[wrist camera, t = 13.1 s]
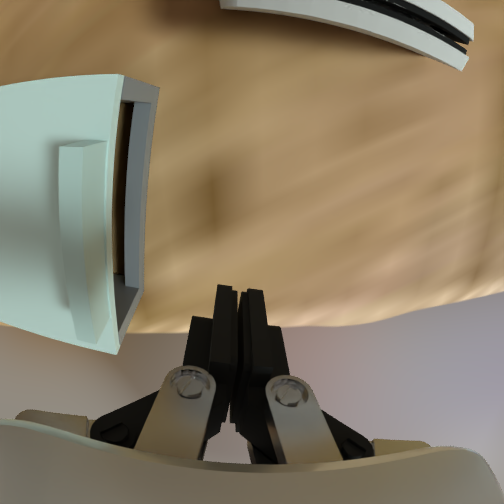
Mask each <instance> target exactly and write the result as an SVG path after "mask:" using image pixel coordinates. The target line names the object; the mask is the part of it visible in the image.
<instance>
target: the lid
mask: <svg viewBox="0 0 504 504" xmlns="http://www.w3.org/2000/svg"><path fill="white" fill-rule="evenodd" d="M123 81H124V76H123V75H120V74H101V75H82V76H69V77H58V78H49V79H41V80H34V81H27V82H21V83H16V84H10V85H5V86H0V321H1V322H3V323H6V324H9V325H12V326H15V327H17V328H20V329H23V330H27V331H30V332H33V333H36V334H39V335H42V336H45V337H49V338H52V339H56V340H59V341H63V342H66V343H70V344H74V345H78V346H81V347H85V348H90V349H94V350H98V351H103V352H106V353H111V354H116V355H117V353H118V350H119V348H120V344H119V336H118V328H117V318H116V308H115V296H114V282H113V262H112V187H113V168H114V154H115V142H116V132H117V123H118V115H119V107H120V100H121V93H122V87H123Z"/></svg>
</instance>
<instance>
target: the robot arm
mask: <svg viewBox="0 0 504 504" xmlns="http://www.w3.org/2000/svg"><path fill="white" fill-rule="evenodd" d="M229 403H230V423H235V426H236V432H239V433H240V434H241V435H242V436H243V437H244V438H246V439H247V448H248V452H249V456H250V460H251V464H236V463H220V462H209V461H203V459H204V454H205V451H206V447H207V443H208V439H210V438H211V437H213V436H214V435H216V434H217V433H219V432H220V427H221V423H222V422H225V421H226V417H227V412H228V408H229ZM0 504H504V494H503V492H502V489H501V487H500V485H499V483H498V481H497V479H496V477H495V475H494V473H493V471H492V470H491V468H490V467H489V465H488V464H487V462H486V461H485V459H484V458H483V457H482V456H481V455H480V454H479V453H477V452H475V451H473V450H470V449H467V448H462V447H454V446H436V447H431V446H430V445H429V444H426V443H425V442H422V441H404V440H384V439H373V441H368V439H366V438H365V437H364V436H362V435H361V434H359V433H357V432H356V431H354V430H353V429H351V428H349V427H348V426H346V425H344V424H343V423H341V422H340V421H338V420H337V419H335V418H333V417H332V416H330V415H329V414H327V413H326V412H324V411H323V410H321V409H320V407H319V404H318V402H317V400H316V397H315V395H314V393H313V390H312V389H311V387H310V386H309V385H308V384H307V383H306V382H304V381H303V380H301V379H300V378H298V377H294V376H291V375H290V373H289V367H288V363H287V357H286V352H285V347H284V342H283V337H282V331H281V328H280V327H279V326H270V325H268V323H267V316H266V309H265V302H264V295H263V290H257V289H249V288H248V289H247V292H241V297H240V302H239V308H238V304H237V291H234V290H232V286H226V285H219V284H218V285H217V292H216V299H215V306H214V314H213V319H211V318H204V317H197V316H192V320H191V325H190V330H189V335H188V340H187V345H186V350H185V355H184V361H183V366H180V367H177V368H174V369H173V370H171V371H170V372H169V373H168V374H167V376H166V377H165V379H164V382H163V384H162V386H161V388H160V390H158V391H156V392H154V393H152V394H150V395H148V396H146V397H143V398H141V399H139V400H137V401H135V402H133V403H130V404H128V405H126V406H124V407H122V408H120V409H117V410H115V411H113V412H111V413H108V414H106V415H103V416H101V417H100V418H98V419H97V420H88V418H87V416H77V415H68V414H60V413H52V412H45V411H39V410H25V411H22V412H21V413H19V415H17V416H16V418H15V419H0Z"/></svg>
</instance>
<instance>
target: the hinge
mask: <svg viewBox="0 0 504 504" xmlns="http://www.w3.org/2000/svg"><path fill="white" fill-rule="evenodd" d="M219 1H220V8H221V9H231V10H245V11H255V12H264V13H272V14H279V15H285V16H292V17H297V18H303V19H308V20H313V21H317V22H322V23H326V24H330V25H335V26H339V27H342V28H346V29H350V30H353V31H357V32H360V33H363V34H367V35H370V36H373V37H376V38H379V39H382V40H385V41H388V42H390V43H393V44H396V45H399V46H401V47H404V48H406V49H409V50H411V51H414V52H416V53H419V54H421V55H423V56H425V57H428V58H431V59H433V60H436V61H438V62H441V63H443V64H446V65H448V66H450V67H453V68H455V69H457V70H459V71H462V69H463V68H464V66H465V64H466V63H467V61H468V59H469V57H468V56H466V52H467V50H466V49H465V48H463V47H462V46H460V45H459V44H457V43H455V42H459V43H463V44H466V45H468V44H469V41H473V38H474V25H473V23H472V22H471V21H469V20H468V19H467V18H466V17H464V16H463V15H462V14H460V13H459V12H458V11H456V10H455V9H453V8H452V7H450V6H449V5H447V4H446V3H444V2H443V1H441V0H219ZM454 41H455V42H454Z"/></svg>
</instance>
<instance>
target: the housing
mask: <svg viewBox="0 0 504 504" xmlns="http://www.w3.org/2000/svg"><path fill="white" fill-rule="evenodd" d="M159 89H160V88H159V87H156V86H153V85H150V84H147V83H145V82H142V81H139V80H136V79H132V78H129V77H126V76H124V81H123V87H122V93H121V100H120V102H126V103H134V109H133V117H132V125H131V133H130V143H129V153H128V165H127V179H126V197H125V240H124V245H125V276H123V275H117V274H113V282H114V296H115V308H116V318H117V328H118V336H119V344H120V345H121V343H122V340H123V338H124V336H125V333H126V331H127V328H128V326H129V324H130V321H131V319H132V317H133V314H134V312H135V310H136V308H137V305H138V303H139V301H140V299H141V296H142V294H143V292H144V242H145V218H146V200H147V187H148V175H149V164H150V154H151V145H152V137H153V129H154V121H155V114H156V108H157V101H158V95H159Z"/></svg>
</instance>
